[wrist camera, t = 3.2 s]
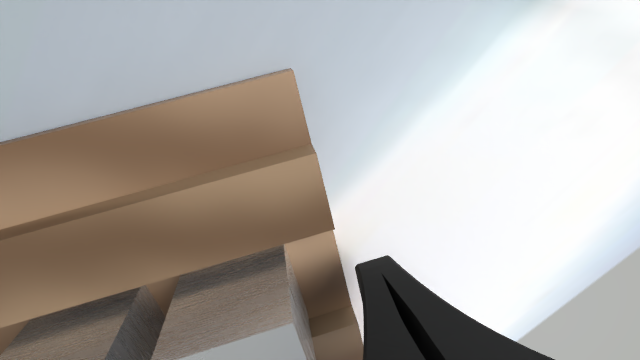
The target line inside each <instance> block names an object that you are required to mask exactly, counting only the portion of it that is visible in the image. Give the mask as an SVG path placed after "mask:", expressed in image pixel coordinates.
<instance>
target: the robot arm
mask: <svg viewBox="0 0 640 360" xmlns="http://www.w3.org/2000/svg"><path fill="white" fill-rule="evenodd" d="M355 270H356V275H357V279H358V284H359V288H360V293H361V297H362V302H363V313H364V348H363V360H554V359H552V358H550V357H547V356H545V355H543V354H540V353H538V352H536V351H534V350H531V349H529V348H527V347H525V346H523V345H521V344H519V343H517V342H515V341H513V340H511V339H509V338H507V337H505V336H503V335H501V334H499V333H497V332H495V331H493V330H492V329H490V328H488V327H486V326H484V325H483V324H481V323H479V322H477V321H476V320H474V319H472V318H471V317H469V316H467V315H466V314H464V313H462V312H461V311H459V310H458V309H456V308H455V307H453V306H452V305H450V304H449V303H447V302H446V301H444V300H443V299H441V298H440V297H439V296H437V295H436V294H435V293H433V292H432V291H430V290H429V289H428V288H427V287H425V286H424V285H423V284H421V283H420V282H419V281H418V280H416V279H415V278H414V277H413V276H411V275H410V274H409V273H408V272H407V271H405V270H404V269H403V268H402V267H401V266H400V265H399V264H398V263H396V262H395V261H394V260H393V259H392V258H391V257H390V256H388V255H387V256H384V257H380V258H377V259H374V260H370V261H367V262H364V263H360V264H357V266H356V267H355Z"/></svg>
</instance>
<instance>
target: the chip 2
mask: <svg viewBox="0 0 640 360" xmlns="http://www.w3.org/2000/svg"><path fill="white" fill-rule="evenodd" d="M151 360H316V358H315V353H314V347H313V341H312V336H311V330H310V324H309V319H308V313H307V309H306V306H305V303H304V300H303V297H302V294H301V291H300V288H299V285H298V283H297V280H296V277H295V274H294V271H293V268H292V265H291V262H290V259H289V256H288V253H287V250H286V247H285V244H283V245H280V246H276V247H273V248H270V249H266V250H263V251H259V252H256V253H253V254H249V255H246V256H242V257H239V258H236V259H232V260H229V261H226V262H222V263H219V264H215V265H212V266H209V267H205V268H202V269H198V270H195V271H192V272H188V273H185V274H182V275H180V278H179V281H178V284H177V287H176V290H175V292H174V295H173V298H172V301H171V304H170V307H169V310H168V312H167V315H166V318H165V321H164V324H163V327H162V330H161V332H160V335H159V338H158V341H157V344H156V347H155V350H154V352H153V355H152V358H151Z"/></svg>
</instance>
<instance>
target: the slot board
mask: <svg viewBox="0 0 640 360" xmlns="http://www.w3.org/2000/svg"><path fill="white" fill-rule="evenodd" d="M334 229H335V228H334V224H333V220H332V216H331V212H330V208H329V203H328V199H327V195H326V191H325V187H324V183H323V179H322V175H321V171H320V167H319V163H318V158H317V154H316V152H315V150H314V148H313V146H312V144H311V140H310V136H309V132H308V128H307V124H306V120H305V116H304V112H303V108H302V104H301V100H300V96H299V92H298V88H297V84H296V80H295V76H294V72H293V70H292V69H291V68H290V69H286V70H282V71H278V72H274V73H270V74H266V75H262V76H258V77H254V78H250V79H247V80H243V81H239V82H235V83H231V84H227V85H223V86H219V87H215V88H211V89H207V90H204V91H200V92H196V93H192V94H188V95H184V96H180V97H176V98H172V99H168V100H164V101H161V102H157V103H153V104H149V105H145V106H141V107H137V108H133V109H129V110H125V111H121V112H118V113H114V114H110V115H106V116H102V117H98V118H94V119H90V120H86V121H82V122H78V123H75V124H71V125H67V126H63V127H59V128H55V129H51V130H47V131H43V132H39V133H35V134H31V135H28V136H24V137H20V138H16V139H12V140H8V141H4V142H0V355H1V354H2V353H3V352H4V350H5V349H6V348H7V347H8V346H9V344H10V343H11V342H12V341H13V340H14V339H15V337H16V336H17V335H18V334H19V333H20V331H21V330H22V329H23V328H24V327H25V325H26V324H27V323H28V322H29V321H30V320H31V319H33V318H36V317H39V316H43V315H46V314H50V313H53V312H56V311H60V310H63V309H66V308H70V307H73V306H77V305H80V304H83V303H87V302H90V301H94V300H97V299H100V298H104V297H107V296H110V295H114V294H117V293H121V292H124V291H127V290H131V289H134V288H138V287H141V286H144V285H146V286H147V288H148V289H149V291H150V293H151V294H152V296H153V297H154V299H155V300H156V302H157V304H158V305H159V307H160V308H161V310H162V312H163V313H164V315H165V316H166V315H167V312H168V310H169V307H170V304H171V301H172V298H173V295H174V292H175V290H176V287H177V284H178V281H179V278H180V275H182V274H185V273H188V272H192V271H195V270H198V269H202V268H205V267H209V266H212V265H215V264H219V263H222V262H226V261H229V260H232V259H236V258H239V257H242V256H246V255H249V254H253V253H256V252H259V251H263V250H266V249H270V248H273V247H276V246H280V245H283V244H285V247H286V250H287V253H288V256H289V259H290V262H291V265H292V268H293V271H294V274H295V277H296V280H297V283H298V285H299V288H300V291H301V294H302V297H303V300H304V303H305V306H306V309H307V313H308V319H309V324H310V330H311V336H312V341H313V347H314V353H315V358H316V360H363V348H364V347H363V342H362V338H361V334H360V330H359V326H358V322H357V319H356V317H355V314H354V311H353V308H352V305H351V301H350V297H349V293H348V289H347V285H346V281H345V277H344V273H343V269H342V265H341V261H340V257H339V253H338V249H337V245H336V241H335V237H334V233H333V230H334Z"/></svg>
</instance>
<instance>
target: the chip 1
mask: <svg viewBox="0 0 640 360" xmlns="http://www.w3.org/2000/svg"><path fill="white" fill-rule="evenodd" d="M165 318H166V316H165V315H164V313H163V312H162V310H161V308H160V307H159V305H158V304H157V302H156V300H155V299H154V297H153V296H152V294H151V293H150V291H149V289H148V288H147V286H146V285H144V286H141V287H138V288H134V289H131V290H127V291H124V292H121V293H117V294H114V295H110V296H107V297H104V298H100V299H97V300H94V301H90V302H87V303H83V304H80V305H77V306H73V307H70V308H66V309H63V310H60V311H56V312H53V313H50V314H46V315H43V316H39V317H36V318H33V319H31V320H30V321H29V322H28V323H27V324H26V325H25V327H24V328H23V329H22V330H21V331H20V333H19V334H18V335H17V336H16V337H15V339H14V340H13V341H12V342H11V343H10V344H9V346H8V347H7V348H6V349H5V350H4V352H3V353H2V354H1V355H0V360H151V358H152V355H153V352H154V350H155V347H156V344H157V341H158V338H159V335H160V332H161V330H162V327H163V324H164V321H165Z"/></svg>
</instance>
